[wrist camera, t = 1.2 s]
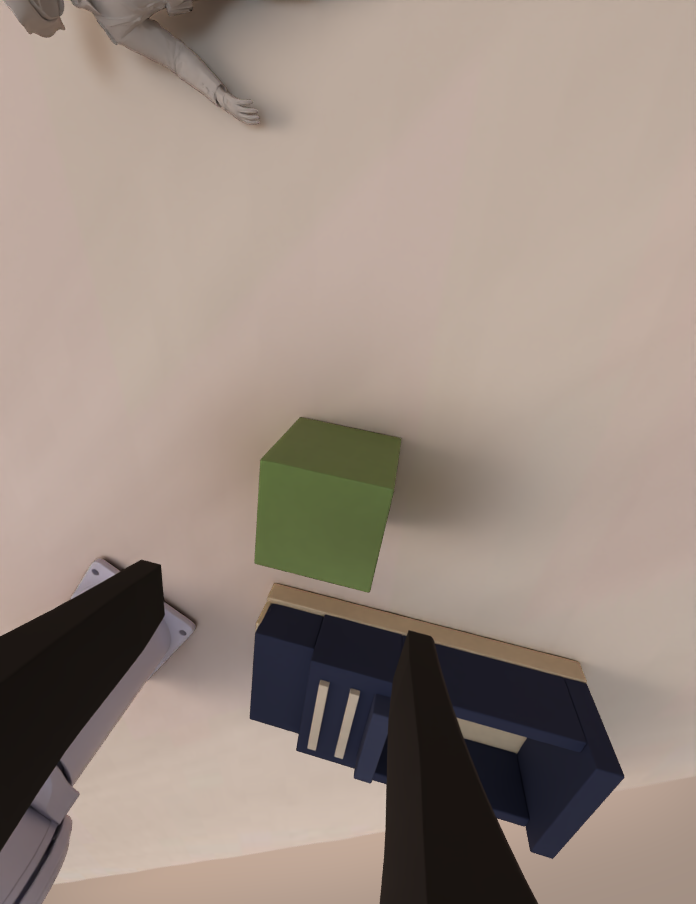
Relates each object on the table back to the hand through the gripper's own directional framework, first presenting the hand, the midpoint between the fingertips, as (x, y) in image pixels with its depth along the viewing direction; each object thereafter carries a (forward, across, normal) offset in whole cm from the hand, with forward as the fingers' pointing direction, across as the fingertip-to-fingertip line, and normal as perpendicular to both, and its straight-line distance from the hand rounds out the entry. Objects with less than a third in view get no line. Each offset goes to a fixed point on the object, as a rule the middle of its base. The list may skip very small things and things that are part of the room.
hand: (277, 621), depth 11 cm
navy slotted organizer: (+9, -6, +13) cm, 17 cm away
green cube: (+9, 0, 0) cm, 9 cm away
